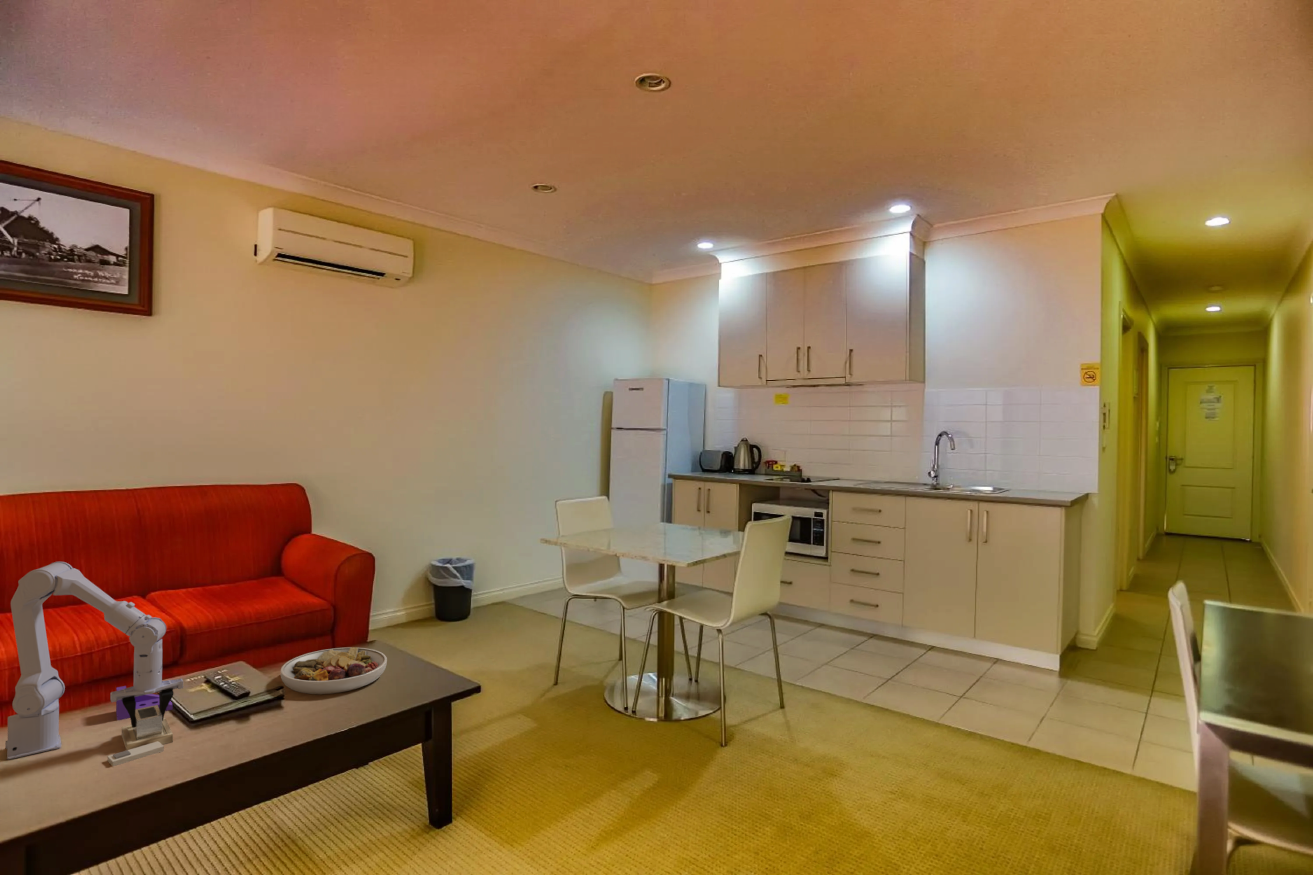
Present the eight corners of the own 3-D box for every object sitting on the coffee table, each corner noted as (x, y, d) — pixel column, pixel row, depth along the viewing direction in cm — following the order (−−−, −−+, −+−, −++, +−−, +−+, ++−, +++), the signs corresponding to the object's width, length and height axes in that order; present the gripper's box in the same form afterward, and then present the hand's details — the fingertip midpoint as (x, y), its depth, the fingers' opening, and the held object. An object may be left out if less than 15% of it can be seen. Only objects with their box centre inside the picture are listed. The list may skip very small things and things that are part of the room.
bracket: (117, 721, 182) (117, 695, 181) (116, 712, 187) (116, 687, 187) (172, 710, 189) (172, 685, 189) (170, 701, 195) (170, 677, 194)
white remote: (163, 752, 167) (163, 744, 167) (112, 768, 159) (112, 759, 159) (158, 747, 169) (158, 739, 169) (107, 762, 161) (107, 754, 161)
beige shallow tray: (127, 752, 165) (127, 744, 165) (121, 734, 174) (121, 726, 174) (172, 741, 171) (172, 733, 171) (165, 724, 180) (165, 717, 180)
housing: (136, 741, 168) (137, 720, 168) (132, 729, 174) (133, 709, 174) (161, 735, 171) (162, 715, 171) (157, 723, 177) (157, 704, 177)
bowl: (261, 681, 212) (261, 655, 211) (352, 655, 236) (352, 632, 236) (313, 707, 194) (314, 679, 194) (406, 676, 219) (406, 652, 219)
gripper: (112, 680, 164) (112, 736, 165) (185, 667, 174) (184, 720, 174) (109, 671, 169) (109, 726, 170) (180, 659, 179) (180, 710, 180)
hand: (147, 722), depth 172 cm, fingers closed on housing, 5 cm apart
